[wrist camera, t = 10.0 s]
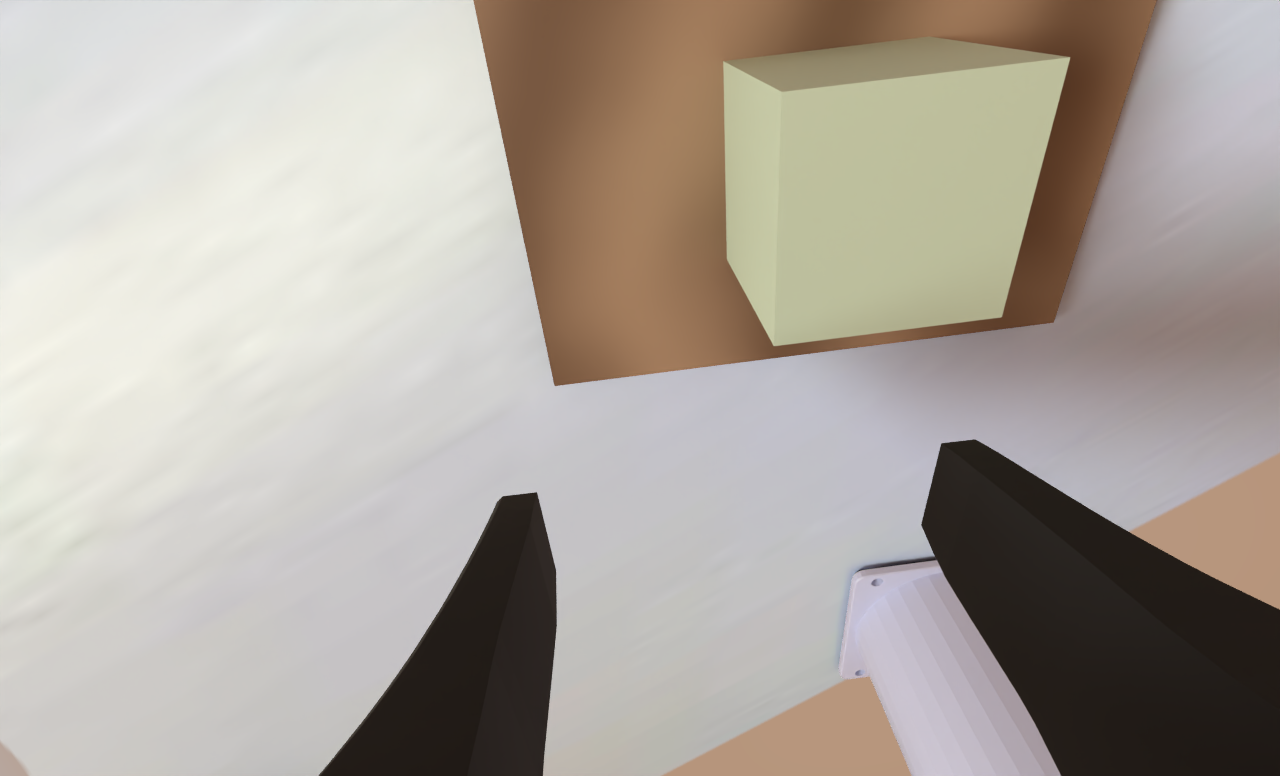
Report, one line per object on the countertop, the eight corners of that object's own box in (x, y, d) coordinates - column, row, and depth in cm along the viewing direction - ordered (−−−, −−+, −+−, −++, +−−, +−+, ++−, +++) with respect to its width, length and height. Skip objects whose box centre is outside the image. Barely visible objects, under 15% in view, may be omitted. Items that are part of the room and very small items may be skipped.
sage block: (929, 36, 15) (1070, 57, 10) (900, 237, 17) (1001, 317, 13) (723, 61, 14) (782, 92, 10) (726, 259, 17) (773, 346, 13)
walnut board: (1177, -176, 14) (1216, -187, 13) (1034, 308, 20) (1053, 322, 19) (460, -94, 13) (452, -100, 12) (555, 369, 20) (554, 386, 19)
